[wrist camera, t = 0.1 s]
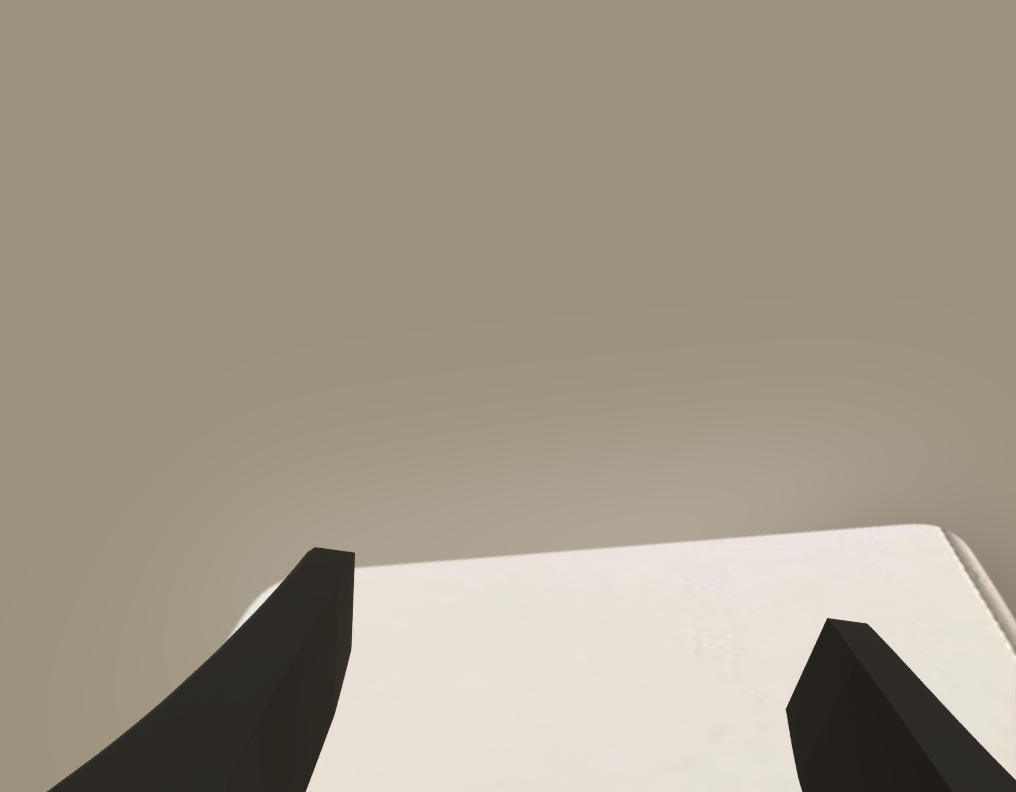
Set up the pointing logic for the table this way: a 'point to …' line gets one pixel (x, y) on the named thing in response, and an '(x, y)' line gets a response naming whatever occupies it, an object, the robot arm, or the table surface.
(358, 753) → the table surface
